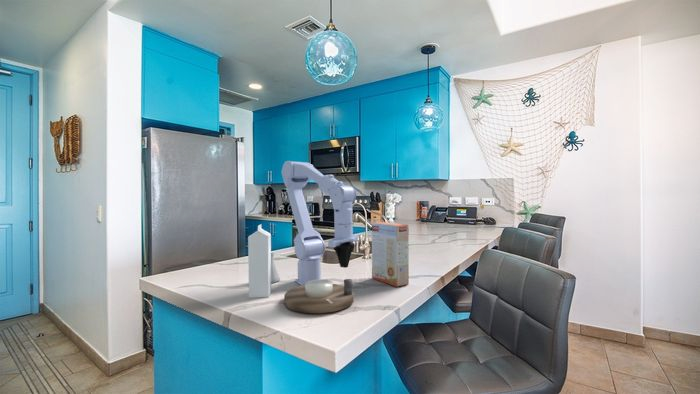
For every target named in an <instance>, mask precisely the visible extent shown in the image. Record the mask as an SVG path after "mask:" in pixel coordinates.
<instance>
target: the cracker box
mask: <svg viewBox="0 0 700 394" xmlns="http://www.w3.org/2000/svg"><path fill="white" fill-rule="evenodd" d="M409 243H410V242H409V224H403V223H397V222H396V223H395V222H388V221H376V222H372V223H371V278H372V279H373V280H376V281H379V282H382V283H385V284H388V285H390V286H393V287H395V288H396V287H397V288H399V287H403V286H407V285H409V280H410V279H409V277H410V275H409V274H410V273H409V265H410V264H409V258H410V257H409Z"/></svg>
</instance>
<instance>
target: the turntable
mask: <svg viewBox="0 0 700 394" xmlns="http://www.w3.org/2000/svg"><path fill="white" fill-rule="evenodd" d="M283 298H284V306H285V307H286V308H287V309H289V310H291V311H295V312H297V313H303V314H325V313H332V312H337V311H341V310H343V309H347V308H348V307H349V306H351V305H352V304H353V303H354V291H353V279H352V278H345V279H344V280H343V285H341V284H337V283H336V284H335V283H333V294H332V295H331V296H328V297H324V298H311V297H308V296H306V295H305V285H303V286H301V285H299V286H296V287H293V288H290V289H289V290H287V291H285V293H284V297H283Z"/></svg>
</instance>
